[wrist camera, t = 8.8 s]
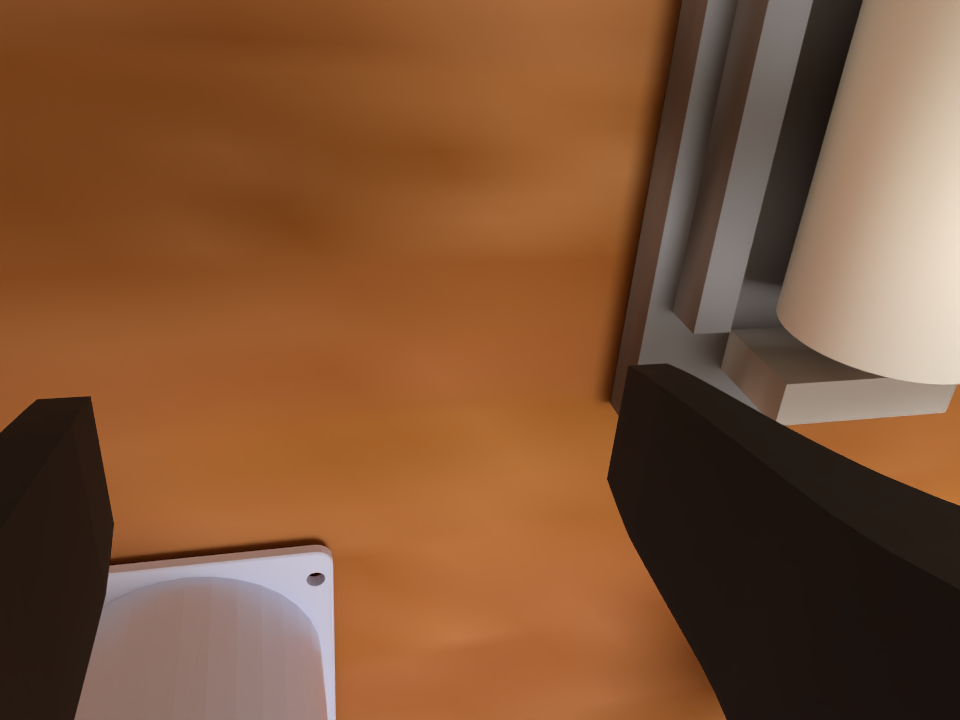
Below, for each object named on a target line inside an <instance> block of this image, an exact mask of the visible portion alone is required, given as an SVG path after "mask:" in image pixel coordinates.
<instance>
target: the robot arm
mask: <svg viewBox="0 0 960 720" xmlns="http://www.w3.org/2000/svg"><path fill="white" fill-rule="evenodd" d="M607 480H608V483H609V486H610V488H611V491H612V494H613V497H614V499H615V502H616V505H617V508H618V510H619V513H620V515H621V518H622V520H623V523H624V525H625V528H626V530H627V533H628V535H629V537H630V539H631V541H632V543H633V545H634V547H635V549H636V550H637V552H638V554H639V556H640V558H641V559H642V561H643V563H644V565H645V567H646V569H647V570H648V572H649V574H650V576H651V578H652V579H653V581H654V583H655V585H656V586H657V588H658V590H659V592H660V593H661V595H662V597H663V599H664V601H665V602H666V604H667V606H668V608H669V609H670V611H671V613H672V615H673V616H674V618H675V620H676V622H677V623H678V625H679V627H680V629H681V630H682V632H683V634H684V636H685V638H686V639H687V641H688V643H689V645H690V646H691V648H692V650H693V652H694V653H695V655H696V657H697V659H698V660H699V662H700V664H701V666H702V668H703V670H704V672H705V674H706V676H707V678H708V680H709V682H710V684H711V686H712V688H713V690H714V692H715V694H716V696H717V698H718V701H719V703H720V705H721V708H722V710H723V712H724V715H725V717H726V719H727V720H960V506H959V505H956V504H953V503H951V502H948V501H945V500H943V499H940V498H937V497H935V496H933V495H930V494H928V493H925V492H923V491H920V490H918V489H916V488H913V487H911V486H908V485H906V484H904V483H901V482H899V481H896V480H894V479H891V478H889V477H887V476H884V475H882V474H880V473H878V472H876V471H873V470H871V469H869V468H867V467H865V466H862V465H860V464H858V463H856V462H854V461H852V460H850V459H848V458H846V457H844V456H842V455H840V454H838V453H836V452H834V451H832V450H830V449H828V448H826V447H824V446H822V445H820V444H818V443H816V442H814V441H812V440H810V439H808V438H806V437H804V436H803V435H801V434H799V433H797V432H795V431H793V430H791V429H789V428H788V427H786V426H784V425H782V424H780V423H778V422H777V421H775V420H773V419H771V418H769V417H768V416H766V415H764V414H762V413H760V412H759V411H757V410H755V409H753V408H751V407H750V406H748V405H746V404H744V403H743V402H741V401H739V400H737V399H735V398H734V397H732V396H730V395H728V394H726V393H725V392H723V391H721V390H719V389H718V388H716V387H714V386H712V385H710V384H708V383H707V382H705V381H703V380H701V379H699V378H697V377H695V376H693V375H692V374H690V373H688V372H686V371H683V370H681V369H679V368H677V367H675V366H672V365H670V364H668V363H664V364H646V365H629V366H628V370H627V375H626V380H625V386H624V391H623V396H622V402H621V407H620V412H619V418H618V423H617V429H616V434H615V439H614V445H613V450H612V455H611V461H610V466H609V471H608V477H607ZM113 527H114V522H113V517H112V511H111V506H110V500H109V495H108V489H107V484H106V478H105V473H104V467H103V462H102V457H101V451H100V446H99V440H98V435H97V429H96V424H95V418H94V413H93V407H92V402H91V396H89V397H71V398H54V399H37V400H36V401H35V402H34V403H32V404H31V405H30V406H29V407H28V408H27V409H26V410H24V411H23V412H22V413H21V414H20V415H19V416H18V417H17V418H16V419H15V420H14V421H13V422H11V423H10V424H9V425H8V426H7V427H6V428H5V429H4V430H3V431H2V432H1V433H0V720H336V711H335V651H334V590H333V559H332V554H331V551H330V550H329V549H328V548H327V547H325V546H322V545H307V546H298V547H288V548H278V549H268V550H258V551H248V552H239V553H229V554H219V555H209V556H199V557H190V558H180V559H170V560H160V561H150V562H141V563H131V564H121V565H111V566H110V557H111V547H112V537H113ZM315 572H316V573H321V574H320V575H318V576H309V575H310V574H312V573H315Z"/></svg>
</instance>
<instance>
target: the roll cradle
mask: <svg viewBox="0 0 960 720" xmlns="http://www.w3.org/2000/svg"><path fill="white" fill-rule="evenodd" d="M862 1H863V0H682V5H681V10H680V16H679V21H678V27H677V33H676V38H675V44H674V49H673V55H672V61H671V66H670V72H669V77H668V83H667V89H666V94H665V100H664V105H663V111H662V117H661V122H660V128H659V133H658V139H657V144H656V150H655V156H654V161H653V167H652V172H651V178H650V184H649V189H648V195H647V200H646V206H645V212H644V217H643V223H642V228H641V234H640V240H639V245H638V251H637V256H636V262H635V267H634V273H633V279H632V284H631V290H630V295H629V301H628V307H627V312H626V318H625V323H624V329H623V335H622V340H621V346H620V351H619V357H618V363H617V368H616V374H615V379H614V385H613V390H612V396H611V402H610V403H611V405H612V406H613V408H614V409H615V411H616V412H617V414H618V415H619V412H620V407H621V402H622V396H623V391H624V386H625V380H626V375H627V370H628V366H629V365H646V364H664V363H668V364H670V365H672V366H675V367H677V368H679V369H681V370H683V371H686V372H688V373H690V374H692V375H693V376H695V377H697V378H699V379H701V380H703V381H705V382H707V383H708V384H710V385H712V386H714V387H716V388H718V389H719V390H721V391H723V392H725V393H726V394H728V395H730V396H732V397H734V398H735V399H737V400H739V401H741V402H743V403H744V404H746V405H748V406H750V407H751V408H753V409H755V410H757V411H759V412H760V413H762V414H764V415H766V416H768V417H769V418H771V419H773V420H775V421H777V422H778V423H780V424H782V425H795V424H807V423H820V422H833V421H845V420H858V419H871V418H883V417H896V416H908V415H921V414H934V413H945V412H946V410H947V407H948V405H949V403H950V400H951V398H952V395H953V393H954V391H955V388H956V386H957V384H947V385H940V384H925V383H916V382H909V381H903V380H897V379H893V378H888V377H884V376H880V375H876V374H873V373H869V372H866V371H862V370H860V369H857V368H854V367H851V366H848V365H845V364H843V363H840V362H838V361H835V360H833V359H831V358H829V357H827V356H825V355H823V354H821V353H819V352H817V351H815V350H813V349H811V348H810V347H808V346H807V345H805V344H804V343H802V342H800V341H799V340H798V339H797V338H795V337H794V336H793V335H791V334H790V333H789V332H788V331H787V330H786V329H785V328H784V326H783V325H782V324H781V322H780V320H779V318H778V316H777V312H776V308H777V303H778V299H779V296H780V292H781V289H782V285H783V282H784V278H785V275H786V271H787V267H788V264H789V260H790V257H791V253H792V250H793V246H794V243H795V239H796V236H797V232H798V228H799V225H800V221H801V218H802V214H803V211H804V207H805V204H806V200H807V197H808V193H809V189H810V186H811V182H812V179H813V175H814V172H815V168H816V165H817V161H818V158H819V154H820V150H821V147H822V143H823V140H824V136H825V133H826V129H827V126H828V122H829V118H830V115H831V111H832V108H833V104H834V101H835V97H836V94H837V90H838V87H839V83H840V79H841V76H842V72H843V69H844V65H845V62H846V58H847V55H848V51H849V48H850V44H851V40H852V37H853V33H854V30H855V26H856V23H857V19H858V16H859V12H860V9H861V5H862Z"/></svg>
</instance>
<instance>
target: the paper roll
mask: <svg viewBox="0 0 960 720" xmlns="http://www.w3.org/2000/svg"><path fill="white" fill-rule="evenodd" d="M776 312H777V316H778V318H779V320H780V322H781V324H782V325H783V326H784V328H785V329H786V330H787V331H788V332H789V333H790V334H791V335H793V336H794V337H795V338H797V339H798V340H799V341H800V342H802V343H804V344H805V345H807V346H808V347H810V348H811V349H813V350H815V351H817V352H819V353H821V354H823V355H825V356H827V357H829V358H831V359H833V360H835V361H838V362H840V363H843V364H845V365H848V366H851V367H854V368H857V369H860V370H862V371H866V372H869V373H873V374H876V375H880V376H884V377H888V378H893V379H897V380H903V381H909V382H916V383H925V384H940V385H947V384H960V0H863V1H862V5H861V9H860V12H859V16H858V19H857V23H856V26H855V30H854V33H853V37H852V40H851V44H850V48H849V51H848V55H847V58H846V62H845V65H844V69H843V72H842V76H841V79H840V83H839V87H838V90H837V94H836V97H835V101H834V104H833V108H832V111H831V115H830V118H829V122H828V126H827V129H826V133H825V136H824V140H823V143H822V147H821V150H820V154H819V158H818V161H817V165H816V168H815V172H814V175H813V179H812V182H811V186H810V189H809V193H808V197H807V200H806V204H805V207H804V211H803V214H802V218H801V221H800V225H799V228H798V232H797V236H796V239H795V243H794V246H793V250H792V253H791V257H790V260H789V264H788V267H787V271H786V275H785V278H784V282H783V285H782V289H781V292H780V296H779V299H778V303H777V308H776Z"/></svg>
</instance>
